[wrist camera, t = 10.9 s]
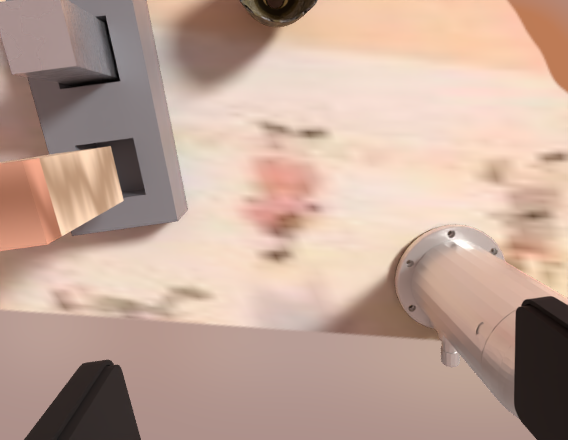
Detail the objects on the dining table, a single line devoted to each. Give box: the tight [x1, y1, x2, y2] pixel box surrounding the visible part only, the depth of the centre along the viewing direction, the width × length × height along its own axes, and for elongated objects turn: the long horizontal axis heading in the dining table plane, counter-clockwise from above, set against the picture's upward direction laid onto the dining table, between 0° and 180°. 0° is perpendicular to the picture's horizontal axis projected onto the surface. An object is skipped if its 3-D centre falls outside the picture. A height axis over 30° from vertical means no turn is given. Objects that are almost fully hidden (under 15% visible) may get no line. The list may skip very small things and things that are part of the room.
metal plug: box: [0, 0, 120, 87], centre depth 31 cm, size 4×4×12 cm
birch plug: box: [0, 146, 124, 251], centre depth 25 cm, size 4×4×12 cm
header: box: [6, 0, 188, 236], centre depth 36 cm, size 21×10×5 cm, turn 7°
